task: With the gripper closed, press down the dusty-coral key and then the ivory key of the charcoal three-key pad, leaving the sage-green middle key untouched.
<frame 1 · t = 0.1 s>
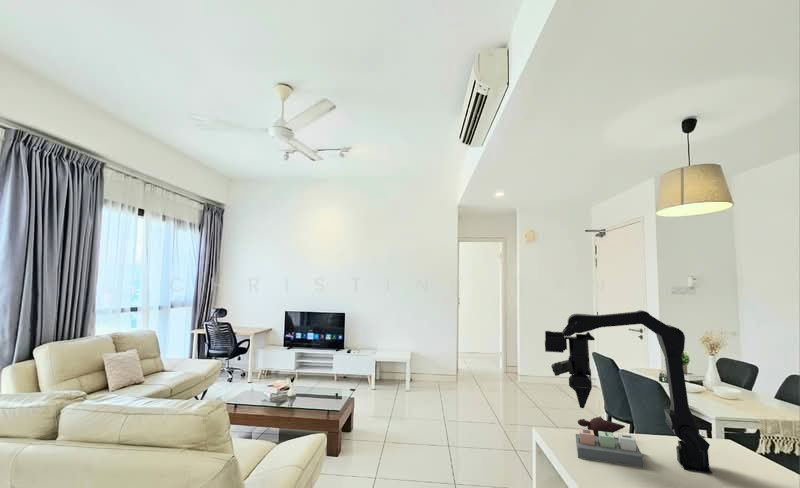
hand: (582, 403, 119), 14 cm above the table, fingers open, 9 cm apart
keypad: (607, 454, 116), on the table
key coral: (586, 437, 118), point 4 cm above the table, slide at 0.0 cm
key sage: (606, 440, 116), point 4 cm above the table, slide at 0.0 cm
key ivory: (627, 443, 114), point 4 cm above the table, slide at 0.0 cm
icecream: (602, 438, 128), on the table
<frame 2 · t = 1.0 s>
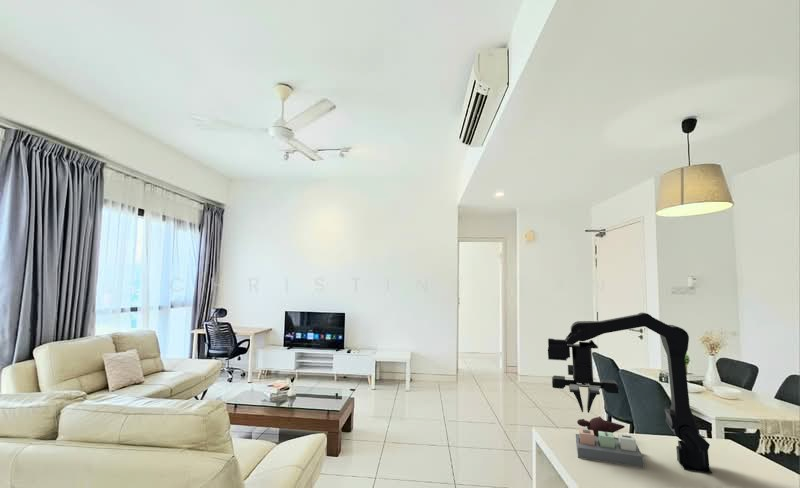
hand: (585, 412, 119), 12 cm above the table, fingers closed
nothing on the table moved.
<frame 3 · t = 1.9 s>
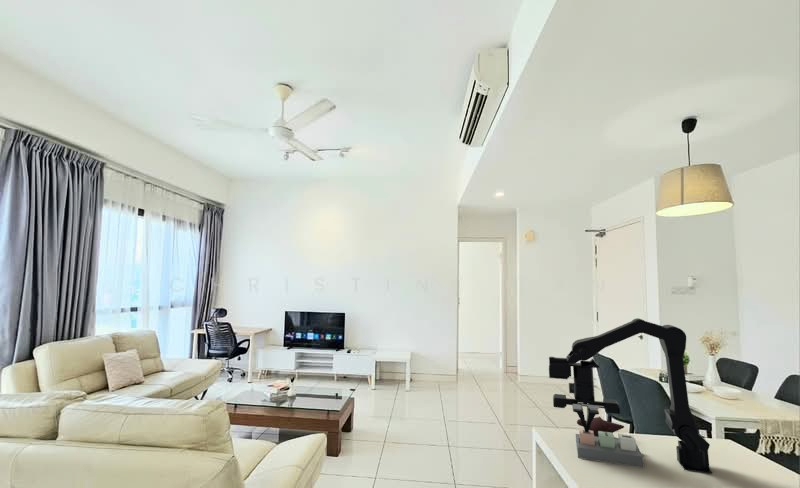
hand: (586, 431, 118), 6 cm above the table, fingers closed, pressing on key coral
key coral: (586, 438, 118), point 4 cm above the table, slide at 0.2 cm, touching gripper
everything else where it was.
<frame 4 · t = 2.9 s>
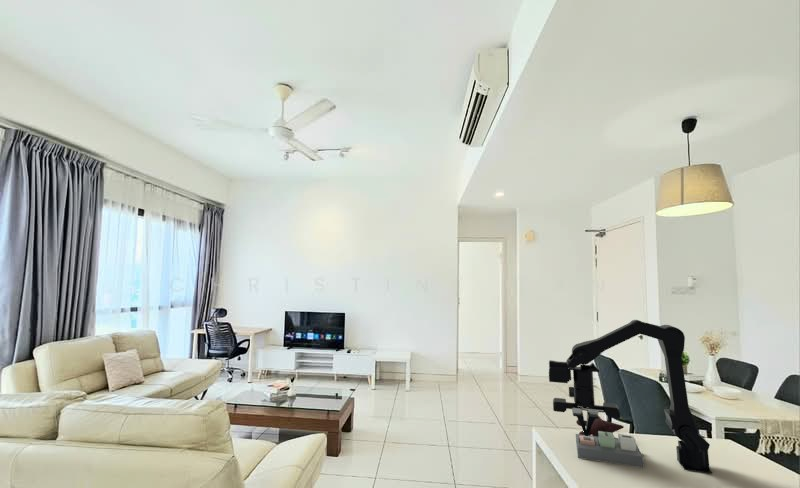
hand: (586, 435, 118), 5 cm above the table, fingers closed
key coral: (587, 444, 118), point 2 cm above the table, slide at 2.1 cm
everything else where it was.
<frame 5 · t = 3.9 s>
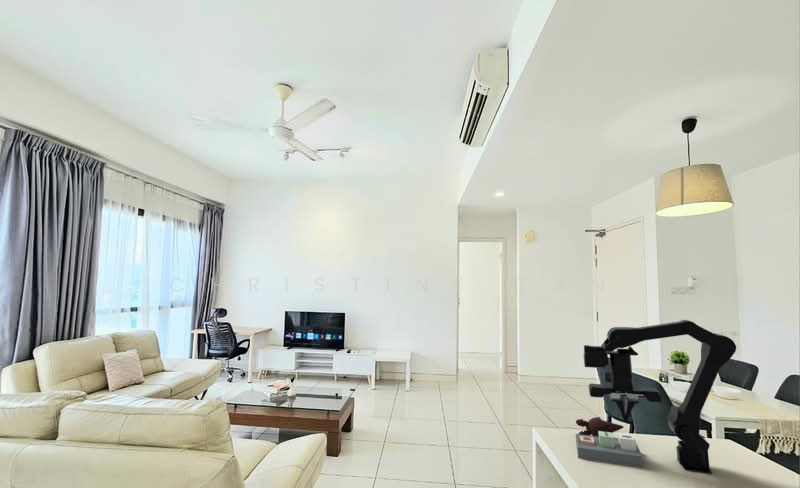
hand: (625, 421, 115), 10 cm above the table, fingers closed
nothing on the table moved.
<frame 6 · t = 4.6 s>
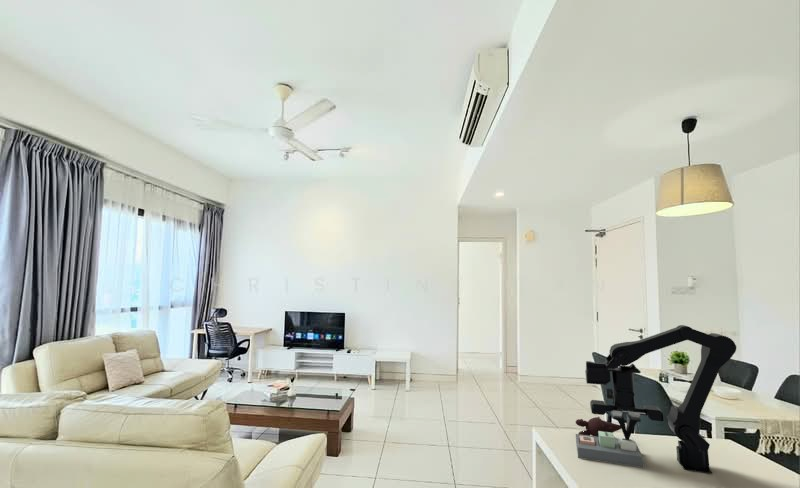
hand: (626, 439, 114), 5 cm above the table, fingers closed, pressing on key ivory
key ivory: (627, 446, 114), point 3 cm above the table, slide at 0.9 cm, touching gripper
everything else where it was.
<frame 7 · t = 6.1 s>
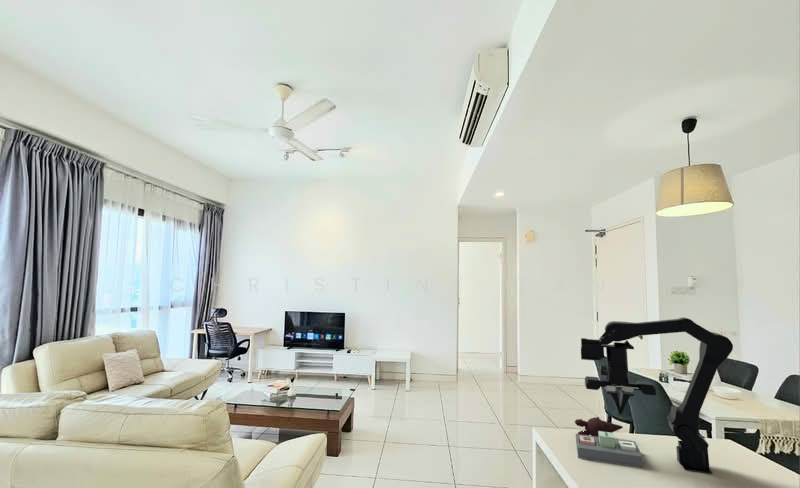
hand: (620, 413, 116), 12 cm above the table, fingers closed
key ivory: (627, 450, 114), point 2 cm above the table, slide at 2.1 cm
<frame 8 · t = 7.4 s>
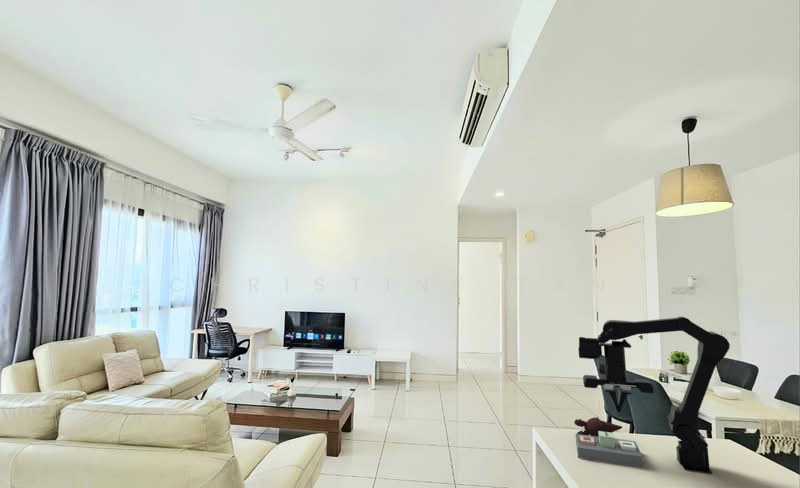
hand: (618, 411, 117), 12 cm above the table, fingers closed
at the end: key coral slide at 2.1 cm; key ivory slide at 2.1 cm; key sage slide at 0.0 cm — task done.
